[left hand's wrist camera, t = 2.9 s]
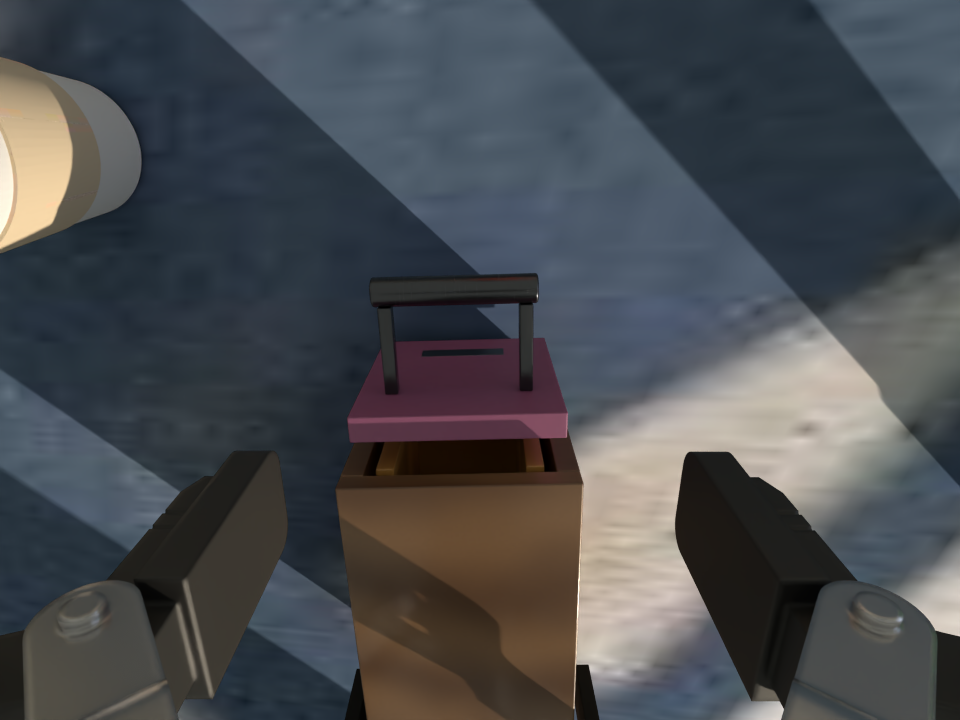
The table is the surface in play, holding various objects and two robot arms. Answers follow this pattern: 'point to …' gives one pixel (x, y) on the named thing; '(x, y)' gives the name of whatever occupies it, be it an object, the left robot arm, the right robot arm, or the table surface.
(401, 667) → the cabinet
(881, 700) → the left robot arm
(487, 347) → the drawer
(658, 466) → the table surface
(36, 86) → the coffee cup
